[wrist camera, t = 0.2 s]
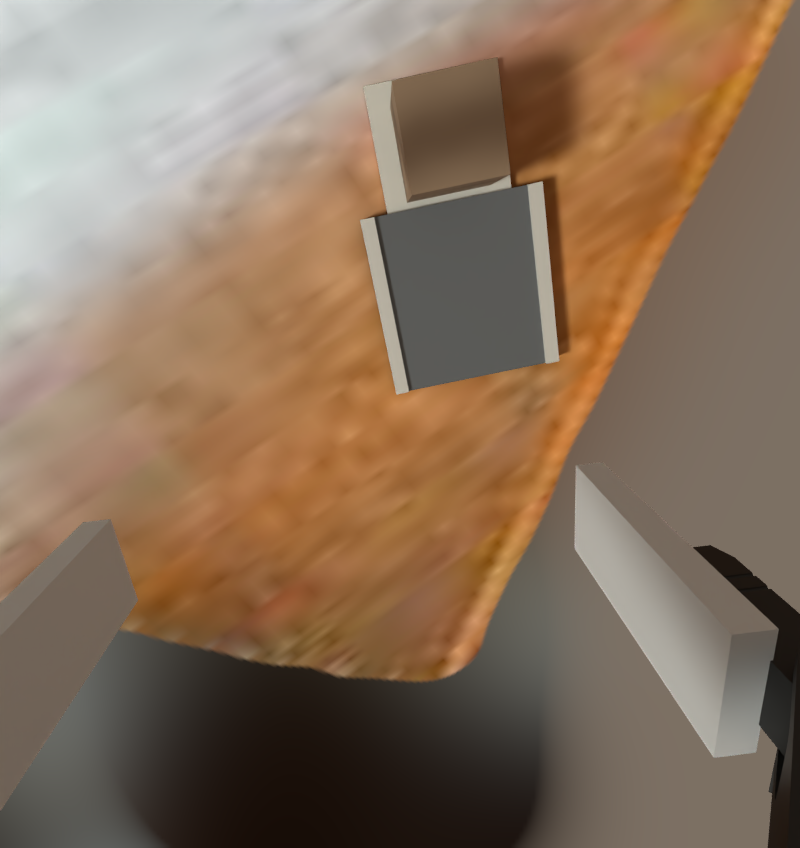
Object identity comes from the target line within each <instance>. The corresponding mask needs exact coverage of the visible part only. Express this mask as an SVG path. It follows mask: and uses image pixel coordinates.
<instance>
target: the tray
mask: <svg viewBox="0 0 800 848" xmlns="http://www.w3.org/2000/svg"><path fill="white" fill-rule="evenodd" d="M360 222H361V227H362V231H363V236H364V241H365V246H366V251H367V255H368V260H369V265H370V270H371V274H372V279H373V284H374V289H375V294H376V298H377V303H378V308H379V313H380V318H381V322H382V327H383V332H384V337H385V341H386V346H387V351H388V356H389V361H390V365H391V370H392V375H393V380H394V385H395V389H396V394H401V393H406V392H409V391H410V390H415V389H420V388H425V387H430V386H435V385H440V384H444V383H449V382H454V381H459V380H464V379H469V378H474V377H478V376H483V375H488V374H493V373H498V372H503V371H508V370H512V369H517V368H522V367H527V366H532V365H537V364H542V363H552V362H557V361H559V353H558V342H557V332H556V321H555V310H554V299H553V288H552V277H551V266H550V255H549V244H548V234H547V223H546V212H545V201H544V190H543V181H542V182H537V183H533V184H528V185H524V186H519V187H515V188H510V189H505V190H501V191H496V192H491V193H486V194H482V195H477V196H472V197H467V198H463V199H458V200H453V201H449V202H444V203H439V204H434V205H430V206H425V207H420V208H415V209H411V210H406V211H401V212H397V213H392V214H387V215H382V216H378V217H372V218H367V219H363V220H360Z"/></svg>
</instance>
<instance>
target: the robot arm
mask: <svg viewBox="0 0 800 848" xmlns="http://www.w3.org/2000/svg"><path fill="white" fill-rule="evenodd" d="M575 550H576V551H577V553H578V554H579V556H580V557H581V559H582V560H583V562H584V563H585V565H586V566H587V568H588V569H589V571H590V572H591V574H592V575H593V577H594V578H595V580H596V581H597V583H598V584H599V586H600V587H601V589H602V590H603V591H604V593H605V595H606V596H607V598H608V599H609V601H610V602H611V604H612V605H613V607H614V608H615V610H616V611H617V613H618V614H619V616H620V617H621V619H622V620H623V622H624V623H625V625H626V626H627V628H628V629H629V631H630V632H631V634H632V635H633V637H634V638H635V640H636V641H637V643H638V644H639V646H640V647H641V649H642V650H643V652H644V653H645V655H646V656H647V658H648V659H649V661H650V662H651V664H652V665H653V667H654V669H655V670H656V672H657V673H658V675H659V676H660V678H661V679H662V681H663V682H664V684H665V685H666V687H667V688H668V690H669V691H670V692H671V694H672V696H673V697H674V699H675V700H676V702H677V703H678V704H679V706H680V707H681V709H682V710H683V712H684V713H685V715H686V717H687V718H688V720H689V721H690V723H691V724H692V725H693V727H694V729H695V730H696V732H697V733H698V735H699V736H700V738H701V739H702V741H703V742H704V744H705V745H706V746H707V748H708V750H709V751H710V752H711V754H712V756H713V757H714V758H715V757H723V756H731V755H739V754H747V753H755V752H756V749H757V744H758V739H759V733H760V728H762V729H763V730H764V732H765V733H766V734H767V735H768V737H769V738H770V739H771V740H772V742H773V743H774V744H775V745H776V747H777V753H776V758H775V763H774V768H773V773H772V778H771V783H770V787H769V792H771V793H772V802H771V814H770V826H769V839H768V848H800V614H799V613H798V612H797V611H796V610H795V609H793V608H792V607H791V606H790V605H789V604H788V603H787V602H785V601H784V600H783V599H782V598H781V597H780V596H778V595H777V594H776V593H775V592H774V591H773V590H772V589H768V588H767V585H766V584H765V583H763V582H762V581H761V580H760V579H759V578H757V577H756V576H753V574H752V572H751V571H750V570H748V569H747V568H746V567H745V566H744V565H743V564H742V563H740V562H739V561H738V560H737V559H736V558H735V557H732V556H731V555H729V554H727V553H725V552H723V551H720V550H719V549H717V548H715V547H713V546H711V545H709V546H701V547H692V546H691V545H690V544H689V543H688V542H686V541H685V540H684V539H683V538H682V537H681V536H680V535H679V534H678V533H677V532H676V531H675V530H674V529H673V528H671V526H670V525H669V524H668V523H666V522H665V521H664V520H663V519H662V518H661V517H660V516H659V515H658V514H657V513H656V512H655V511H654V510H653V509H652V508H651V507H650V506H648V505H647V504H646V503H645V502H644V501H643V500H642V499H641V498H640V497H639V496H638V495H637V494H636V493H635V492H634V491H633V490H631V488H630V487H628V486H627V485H626V484H625V483H624V482H623V481H622V480H621V479H620V478H619V477H618V476H617V475H616V474H615V473H614V472H612V470H610V468H608V467H607V466H606V465H605V464H604V463H603V462H600V463H590V464H582V465H576V493H575ZM137 601H138V599H137V596H136V593H135V590H134V587H133V584H132V581H131V578H130V575H129V572H128V569H127V566H126V563H125V560H124V557H123V554H122V552H121V549H120V546H119V543H118V540H117V537H116V534H115V531H114V528H113V525H112V522H111V519H108V520H100V521H91V522H83V523H82V524H81V525H80V526H79V527H78V528H77V529H76V530H75V531H74V532H73V533H72V534H71V535H70V536H69V537H68V538H67V539H66V540H65V541H63V542H62V543H61V544H60V545H59V546H58V547H57V548H56V549H55V550H54V551H53V552H52V553H51V554H50V555H49V556H48V557H47V558H46V559H45V560H44V561H43V562H42V563H41V564H40V565H39V566H38V567H37V568H36V569H35V570H34V571H33V572H32V573H31V574H29V575H28V576H27V577H26V578H25V579H24V580H23V581H22V582H21V583H20V584H19V585H18V586H17V587H16V588H15V589H14V590H13V591H12V592H11V593H10V594H9V595H8V596H7V597H6V598H5V599H4V600H3V601H2V602H1V603H0V811H1V809H2V808H3V806H4V804H5V803H6V801H7V800H8V798H9V797H10V795H11V794H12V792H13V791H14V789H15V787H16V786H17V785H18V783H19V782H20V780H21V779H22V777H23V775H24V774H25V772H26V771H27V769H28V768H29V766H30V765H31V763H32V762H33V760H34V759H35V757H36V756H37V754H38V752H39V751H40V749H41V748H42V746H43V745H44V743H45V742H46V740H47V739H48V737H49V736H50V734H51V733H52V731H53V730H54V728H55V726H56V725H57V723H58V722H59V720H60V719H61V717H62V716H63V714H64V713H65V711H66V709H67V708H68V706H69V705H70V703H71V702H72V700H73V699H74V697H75V696H76V694H77V692H78V691H79V690H80V688H81V687H82V685H83V684H84V682H85V680H86V679H87V677H88V676H89V674H90V673H91V671H92V670H93V668H94V666H95V665H96V664H97V662H98V661H99V659H100V658H101V656H102V654H103V653H104V651H105V650H106V648H107V647H108V645H109V644H110V642H111V641H112V639H113V638H114V636H115V634H116V633H117V631H118V630H119V628H120V627H121V625H122V624H123V622H124V621H125V619H126V618H127V616H128V615H129V613H130V612H131V610H132V609H133V607H134V605H135V604H136V602H137Z"/></svg>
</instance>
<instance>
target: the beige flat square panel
mask: <svg viewBox="0 0 800 848" xmlns="http://www.w3.org/2000/svg"><path fill="white" fill-rule="evenodd" d="M405 78H406V77H405ZM396 80H397V79H396ZM391 85H392V80H391V81H387V82H382V83H378V84H373V85H368V86H364V87H363V89H364V94H365V99H366V104H367V110H368V115H369V120H370V125H371V131H372V136H373V141H374V146H375V152H376V157H377V162H378V167H379V173H380V178H381V183H382V188H383V193H384V199H385V204H386V209H387V214H392V213H397V212H401V211H406V210H411V209H415V208H420V207H425V206H430V205H434V204H439V203H444V202H449V201H453V200H458V199H463V198H467V197H472V196H477V195H482V194H486V193H491V192H496V191H501V190H505V189H510V188H511V179H510V175H508V176H506V177H504V178H503V179H501V180H499V181H497V182H495V183H493V184H491V185H488V186H484V187H479V188H474V189H470V190H465V191H460V192H455V193H451V194H446V195H441V196H437V197H432V198H427V199H423V200H418V201H413V202H409V203H407V200H406V194H405V189H404V183H403V177H402V172H401V166H400V161H399V155H398V149H397V144H396V138H395V133H394V127H393V121H392V116H391V110H390V100H391Z"/></svg>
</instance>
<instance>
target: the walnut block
mask: <svg viewBox="0 0 800 848" xmlns="http://www.w3.org/2000/svg"><path fill="white" fill-rule="evenodd" d="M390 110H391V116H392V121H393V127H394V133H395V138H396V144H397V149H398V155H399V161H400V166H401V172H402V177H403V183H404V189H405V194H406V200H407V203H409V202H413V201H418V200H423V199H427V198H432V197H437V196H441V195H446V194H451V193H455V192H460V191H465V190H470V189H474V188H479V187H484V186H488V185H491V184H493V183H495V182H497V181H499V180H501V179H503V178H504V177H506V176H508V175H510V174H511V173H510V164H509V156H508V147H507V138H506V129H505V120H504V111H503V102H502V93H501V84H500V76H499V67H498V58H497V57H496V58H492V59H487V60H483V61H478V62H474V63H469V64H464V65H460V66H455V67H451V68H446V69H442V70H437V71H433V72H428V73H424V74H419V75H415V76H410V77H406V78H401V79H397V80H392V85H391V100H390Z"/></svg>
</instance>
